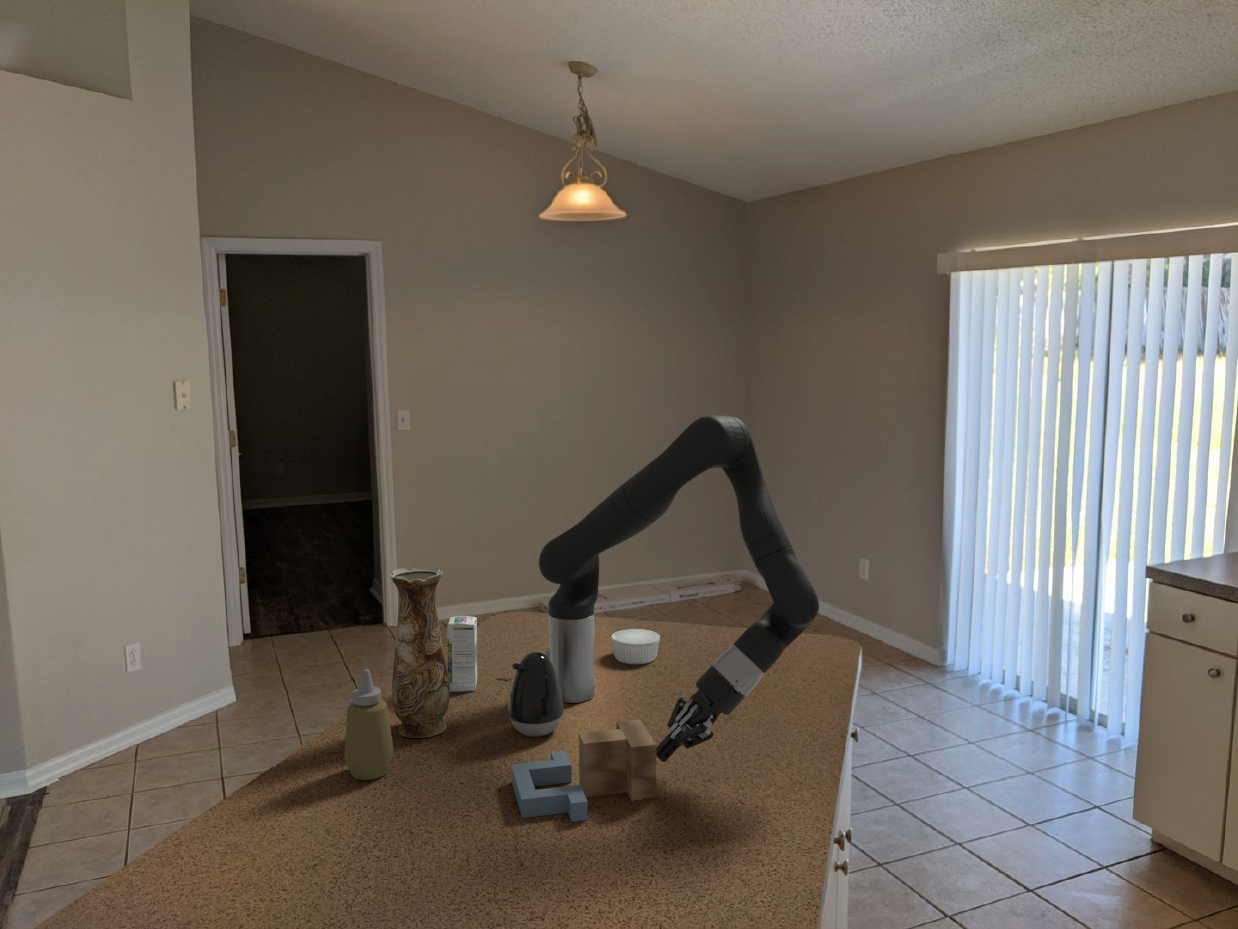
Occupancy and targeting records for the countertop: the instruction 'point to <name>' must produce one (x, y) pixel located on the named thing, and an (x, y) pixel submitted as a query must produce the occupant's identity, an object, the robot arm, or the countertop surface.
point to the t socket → (550, 798)
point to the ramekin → (635, 646)
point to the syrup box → (462, 653)
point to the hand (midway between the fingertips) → (658, 757)
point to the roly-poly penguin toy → (535, 696)
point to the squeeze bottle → (368, 732)
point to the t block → (618, 761)
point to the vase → (419, 655)
